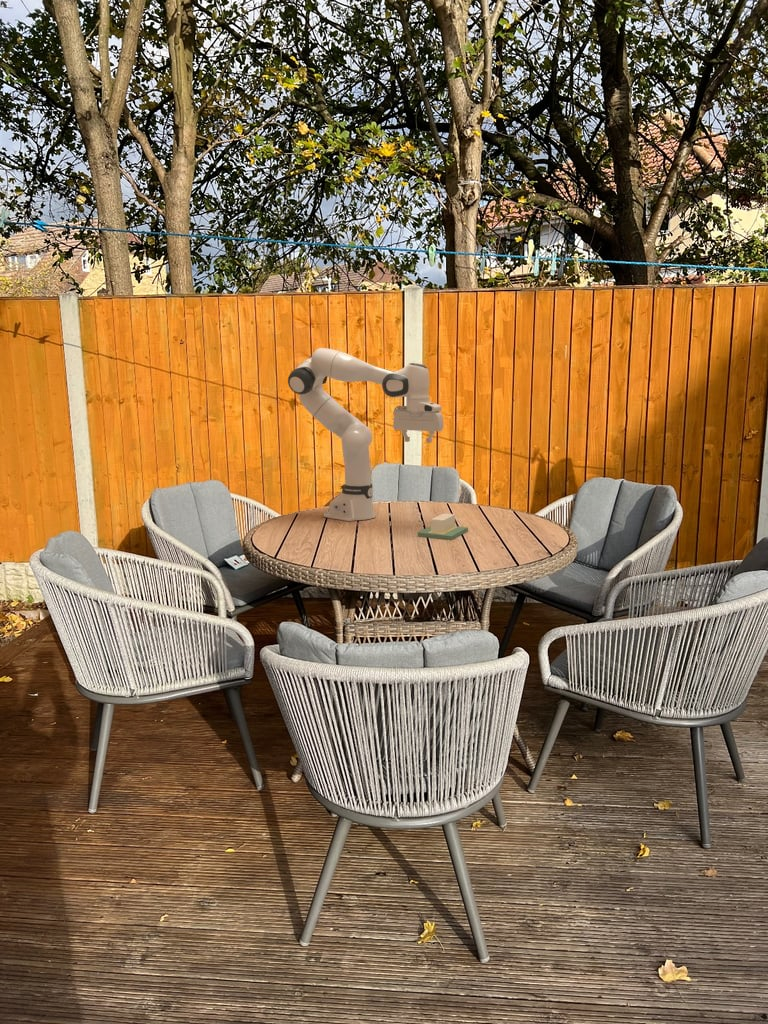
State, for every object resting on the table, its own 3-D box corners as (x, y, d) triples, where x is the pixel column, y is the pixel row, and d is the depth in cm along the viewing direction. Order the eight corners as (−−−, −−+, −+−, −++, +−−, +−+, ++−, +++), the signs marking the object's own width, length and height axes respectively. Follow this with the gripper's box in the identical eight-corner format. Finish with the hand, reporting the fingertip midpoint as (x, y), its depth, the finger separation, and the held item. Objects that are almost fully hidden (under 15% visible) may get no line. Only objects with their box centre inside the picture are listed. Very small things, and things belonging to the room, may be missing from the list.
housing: (431, 532, 288) (431, 519, 287) (443, 525, 298) (443, 513, 296) (443, 533, 285) (443, 520, 284) (455, 527, 295) (455, 514, 294)
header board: (417, 536, 288) (417, 523, 287) (435, 527, 302) (435, 515, 301) (451, 540, 282) (451, 527, 281) (467, 531, 295) (468, 518, 294)
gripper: (390, 406, 294) (390, 441, 297) (438, 407, 285) (438, 444, 288) (397, 405, 300) (397, 440, 303) (445, 406, 290) (445, 442, 293)
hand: (418, 442), depth 295 cm, fingers open, 8 cm apart
